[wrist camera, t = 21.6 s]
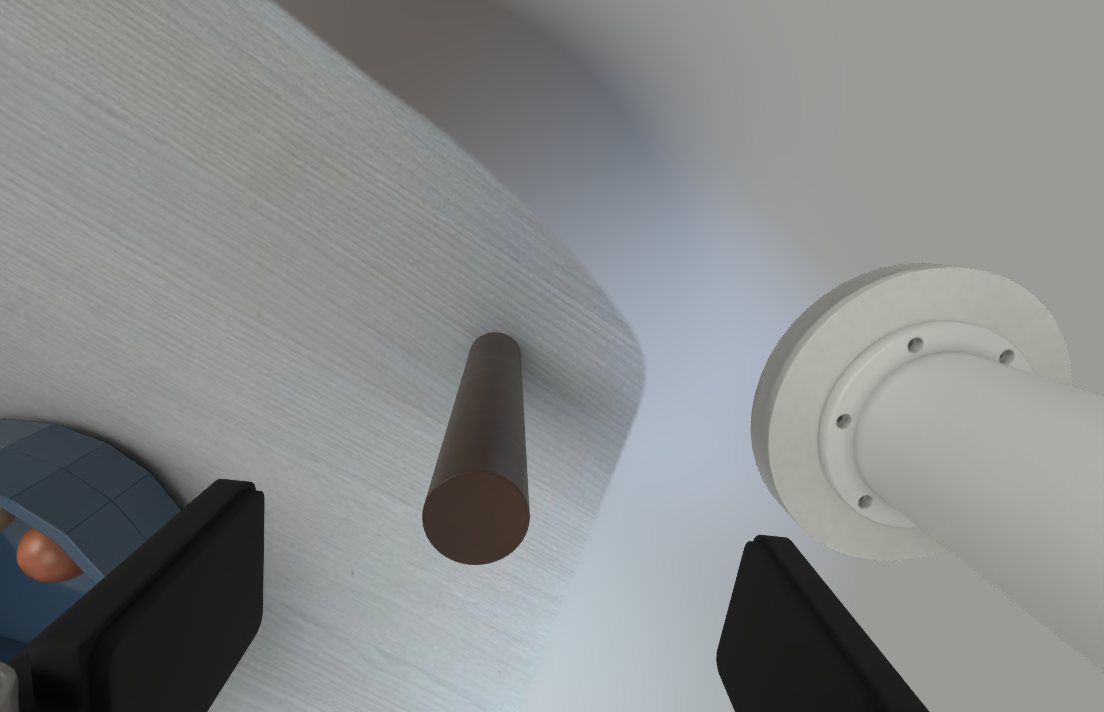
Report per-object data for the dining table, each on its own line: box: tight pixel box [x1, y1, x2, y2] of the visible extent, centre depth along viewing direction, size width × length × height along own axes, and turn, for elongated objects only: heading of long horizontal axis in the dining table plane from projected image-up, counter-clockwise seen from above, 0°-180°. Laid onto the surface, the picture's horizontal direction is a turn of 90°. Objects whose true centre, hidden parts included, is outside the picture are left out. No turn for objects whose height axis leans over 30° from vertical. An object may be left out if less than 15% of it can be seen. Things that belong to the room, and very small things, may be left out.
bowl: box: [0, 419, 181, 664], centre depth 26 cm, size 15×15×6 cm
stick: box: [422, 333, 530, 565], centre depth 20 cm, size 3×3×15 cm
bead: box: [17, 527, 84, 583], centre depth 26 cm, size 3×3×3 cm
